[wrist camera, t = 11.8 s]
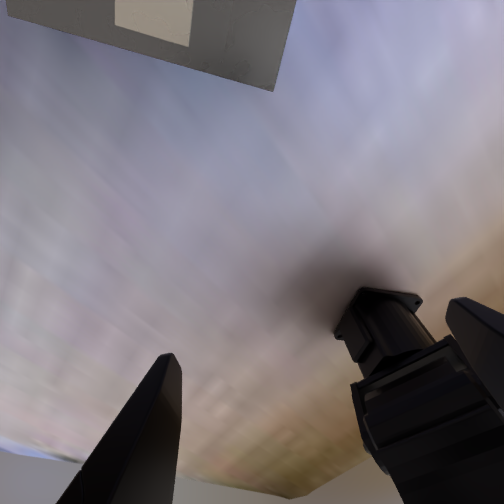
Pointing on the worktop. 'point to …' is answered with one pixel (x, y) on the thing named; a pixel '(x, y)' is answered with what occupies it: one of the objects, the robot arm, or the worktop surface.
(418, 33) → the worktop surface
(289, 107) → the worktop surface
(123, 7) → the plate
